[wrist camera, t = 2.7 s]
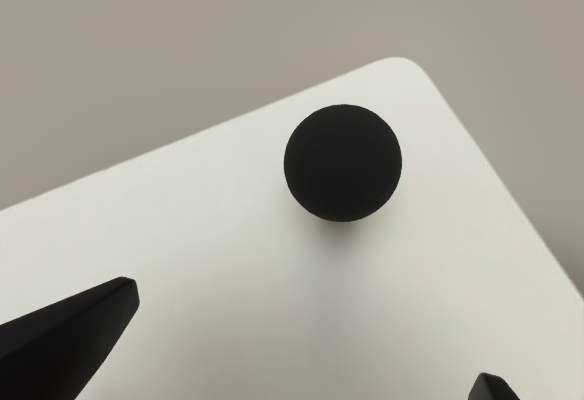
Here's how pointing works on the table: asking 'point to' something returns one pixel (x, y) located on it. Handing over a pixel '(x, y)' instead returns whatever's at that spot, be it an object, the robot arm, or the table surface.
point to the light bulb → (342, 163)
